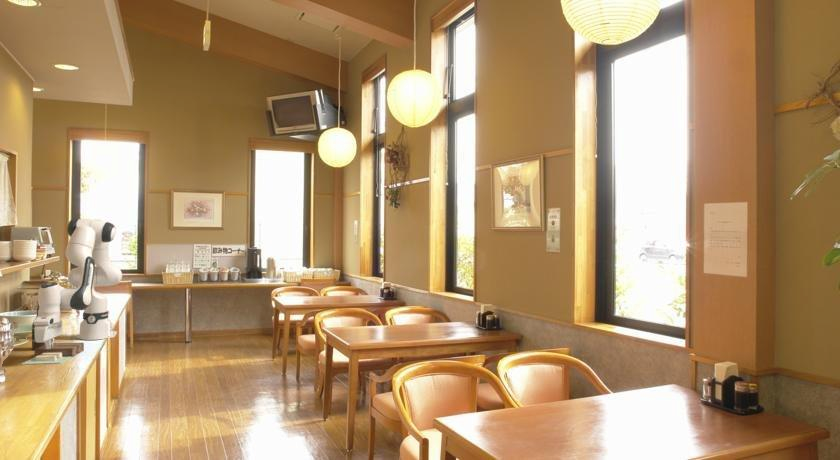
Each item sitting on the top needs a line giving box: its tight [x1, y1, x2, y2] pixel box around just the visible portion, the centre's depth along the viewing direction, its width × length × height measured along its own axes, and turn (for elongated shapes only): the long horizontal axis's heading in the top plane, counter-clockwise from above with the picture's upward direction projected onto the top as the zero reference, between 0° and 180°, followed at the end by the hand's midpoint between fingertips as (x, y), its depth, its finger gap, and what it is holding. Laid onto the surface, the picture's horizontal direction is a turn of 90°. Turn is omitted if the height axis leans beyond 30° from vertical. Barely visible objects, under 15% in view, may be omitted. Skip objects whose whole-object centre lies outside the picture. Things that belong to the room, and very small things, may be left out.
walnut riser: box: [34, 342, 85, 358], centre depth 282 cm, size 14×16×4 cm
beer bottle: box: [31, 300, 45, 351], centre depth 293 cm, size 8×8×24 cm
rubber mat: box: [21, 357, 72, 366], centre depth 269 cm, size 12×16×1 cm
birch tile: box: [34, 352, 62, 361], centre depth 271 cm, size 8×8×2 cm
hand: (49, 348), depth 271 cm, fingers closed
